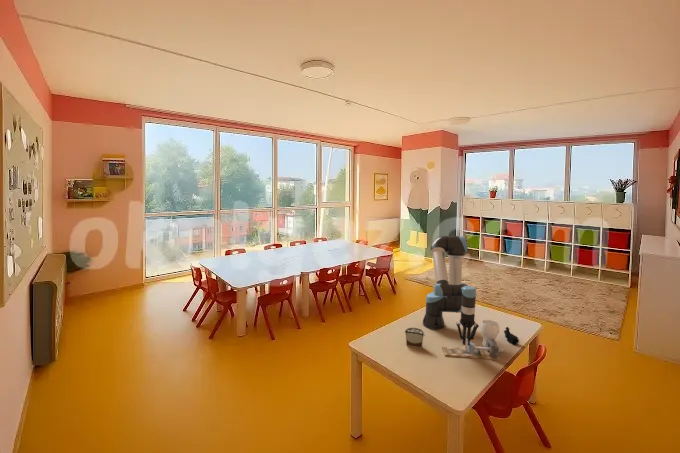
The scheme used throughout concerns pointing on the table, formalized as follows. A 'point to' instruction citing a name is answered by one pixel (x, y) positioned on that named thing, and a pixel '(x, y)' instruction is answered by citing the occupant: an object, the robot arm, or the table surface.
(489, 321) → the cup
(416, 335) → the food container
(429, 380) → the table surface
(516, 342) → the toy
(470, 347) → the grey hammer
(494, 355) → the gauge bed
